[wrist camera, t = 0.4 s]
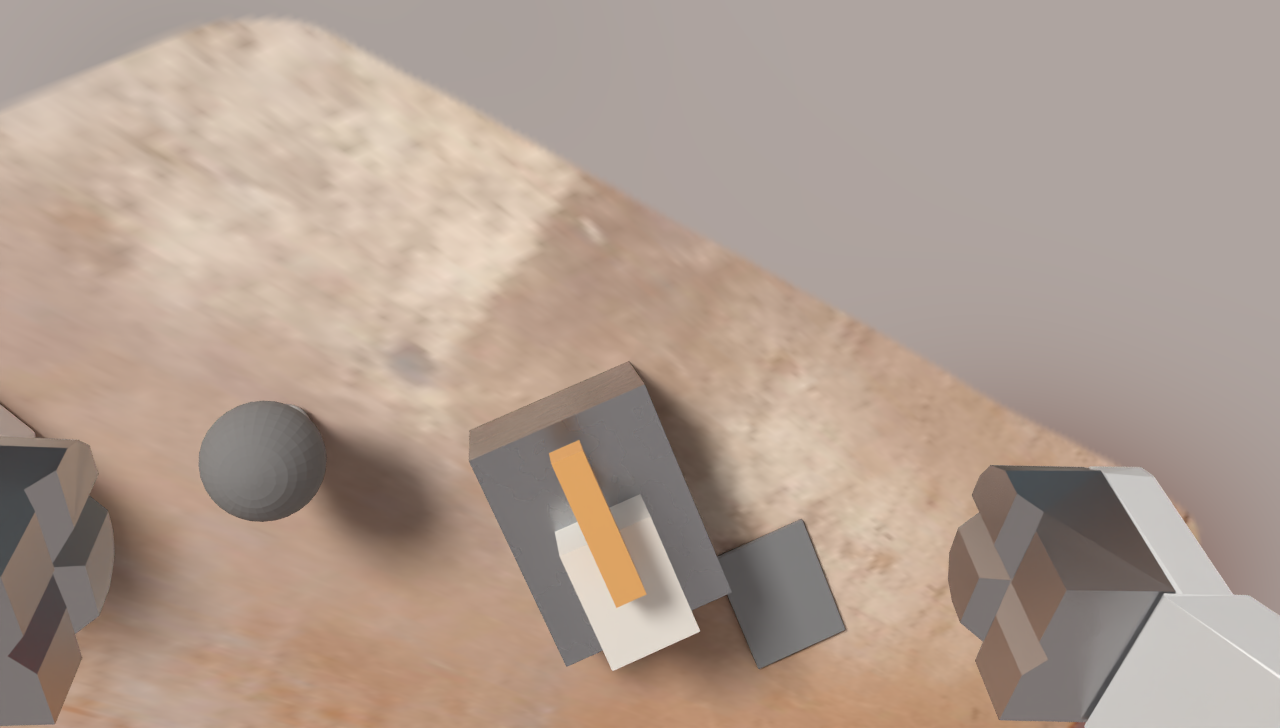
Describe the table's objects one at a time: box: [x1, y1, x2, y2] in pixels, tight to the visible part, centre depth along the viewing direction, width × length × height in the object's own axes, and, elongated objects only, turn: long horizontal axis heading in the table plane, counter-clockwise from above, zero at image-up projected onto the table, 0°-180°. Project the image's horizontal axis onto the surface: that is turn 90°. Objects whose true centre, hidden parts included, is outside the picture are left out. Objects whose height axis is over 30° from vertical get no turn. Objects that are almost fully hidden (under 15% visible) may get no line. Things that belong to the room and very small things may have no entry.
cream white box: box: [555, 494, 700, 671], centre depth 57 cm, size 7×5×4 cm
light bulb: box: [199, 401, 326, 522], centre depth 55 cm, size 6×6×10 cm
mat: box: [717, 519, 845, 669], centre depth 67 cm, size 8×6×1 cm
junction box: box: [469, 361, 732, 667], centre depth 61 cm, size 13×10×6 cm
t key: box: [549, 440, 647, 608], centre depth 54 cm, size 8×2×6 cm, turn 22°
